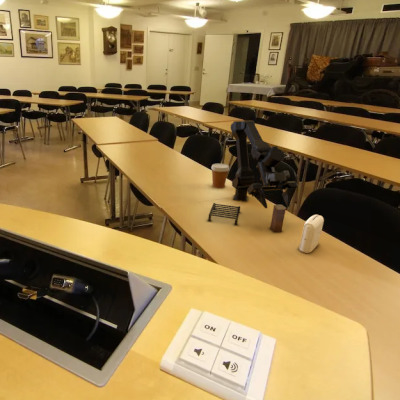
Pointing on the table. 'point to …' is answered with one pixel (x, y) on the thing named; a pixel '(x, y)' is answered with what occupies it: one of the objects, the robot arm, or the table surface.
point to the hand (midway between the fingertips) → (277, 207)
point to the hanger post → (277, 218)
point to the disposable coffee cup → (219, 175)
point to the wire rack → (224, 212)
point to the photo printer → (311, 233)
